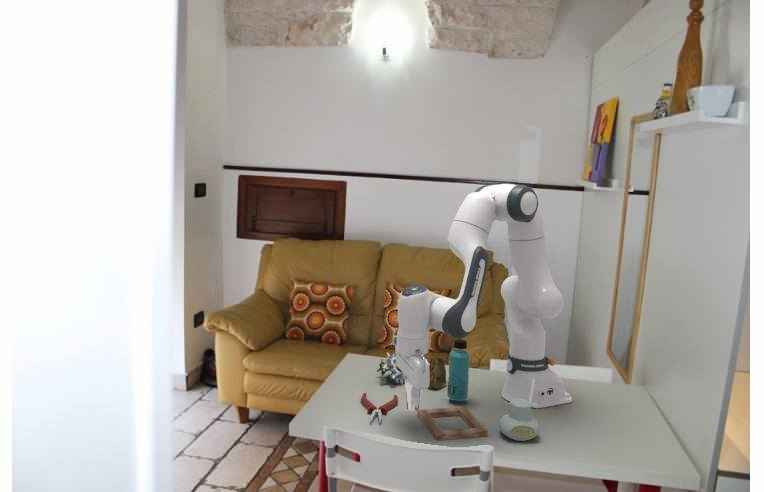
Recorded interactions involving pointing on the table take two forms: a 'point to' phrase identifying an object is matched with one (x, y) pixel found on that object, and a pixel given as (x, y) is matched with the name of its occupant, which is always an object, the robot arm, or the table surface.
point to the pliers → (380, 410)
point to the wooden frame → (440, 434)
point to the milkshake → (411, 401)
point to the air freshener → (519, 421)
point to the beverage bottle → (458, 372)
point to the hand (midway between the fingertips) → (411, 392)
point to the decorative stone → (437, 372)
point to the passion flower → (391, 368)
